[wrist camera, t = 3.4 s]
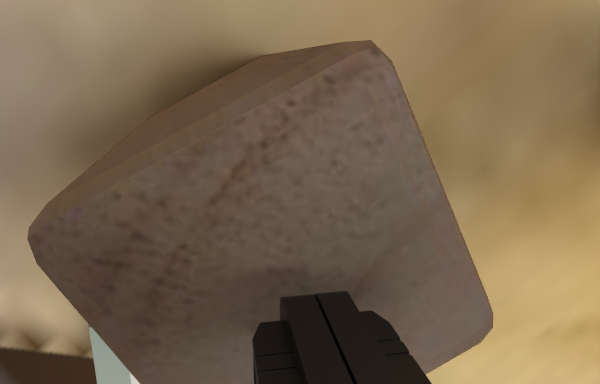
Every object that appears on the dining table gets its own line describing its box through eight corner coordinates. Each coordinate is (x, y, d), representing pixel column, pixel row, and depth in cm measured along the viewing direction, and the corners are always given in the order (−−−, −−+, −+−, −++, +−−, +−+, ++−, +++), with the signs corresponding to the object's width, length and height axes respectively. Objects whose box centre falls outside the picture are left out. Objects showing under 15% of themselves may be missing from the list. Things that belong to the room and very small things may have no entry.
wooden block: (337, 175, 32) (517, 339, 13) (218, 241, 31) (225, 508, 13) (273, 48, 28) (393, 19, 9) (140, 121, 28) (-12, 240, 9)
